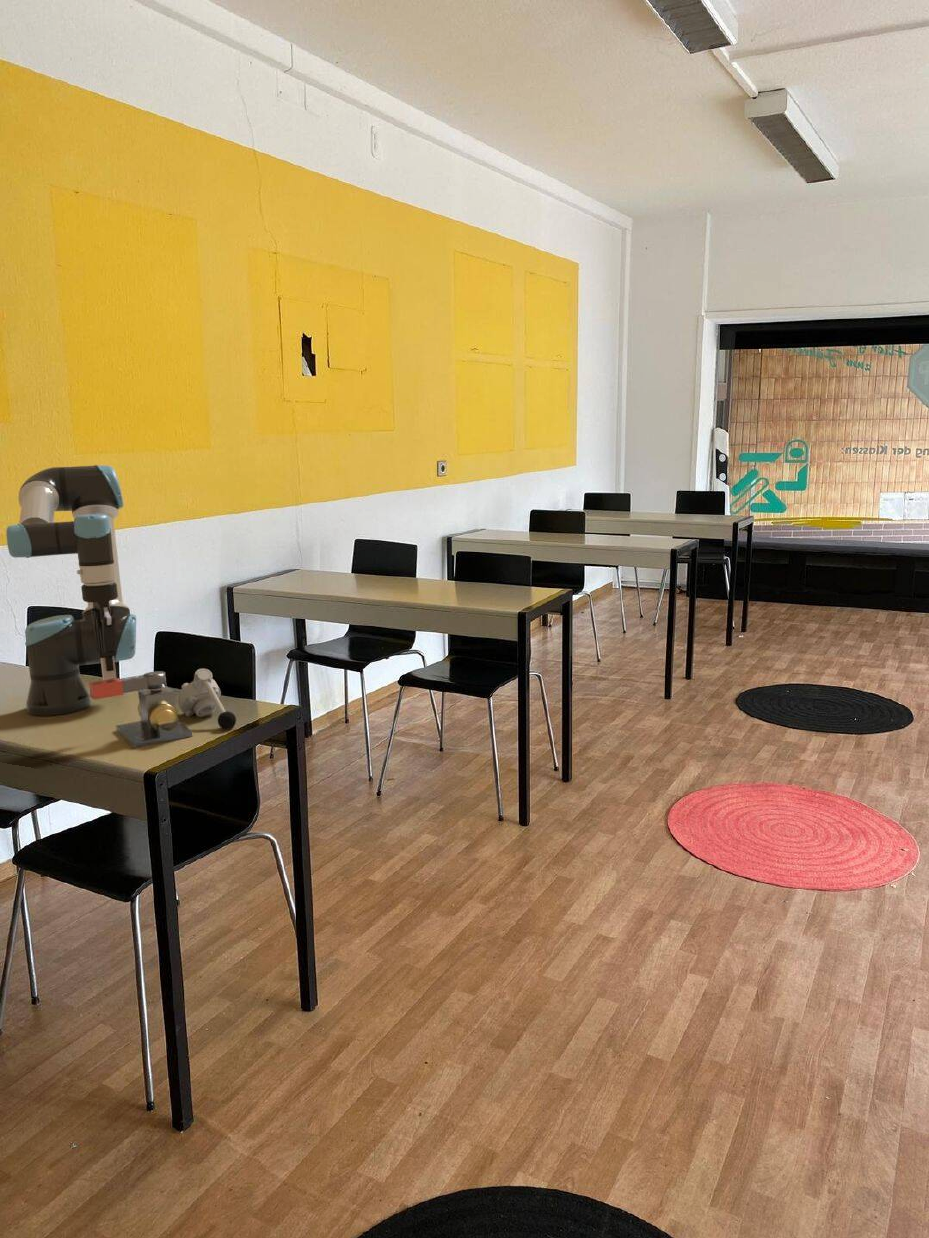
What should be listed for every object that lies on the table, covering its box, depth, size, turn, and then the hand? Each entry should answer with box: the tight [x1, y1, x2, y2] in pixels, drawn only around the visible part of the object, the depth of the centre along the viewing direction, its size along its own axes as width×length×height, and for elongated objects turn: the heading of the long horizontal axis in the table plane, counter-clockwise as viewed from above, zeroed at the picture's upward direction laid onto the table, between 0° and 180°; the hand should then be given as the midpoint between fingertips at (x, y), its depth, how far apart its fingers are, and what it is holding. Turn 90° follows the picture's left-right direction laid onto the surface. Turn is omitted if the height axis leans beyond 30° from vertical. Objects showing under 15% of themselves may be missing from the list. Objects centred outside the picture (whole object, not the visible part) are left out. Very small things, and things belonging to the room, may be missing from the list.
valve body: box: [115, 685, 193, 749], centre depth 216 cm, size 16×13×11 cm
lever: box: [88, 670, 167, 700], centre depth 213 cm, size 5×16×3 cm, turn 124°
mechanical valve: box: [175, 668, 237, 730], centre depth 226 cm, size 10×18×15 cm
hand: (110, 683), depth 216 cm, fingers closed
